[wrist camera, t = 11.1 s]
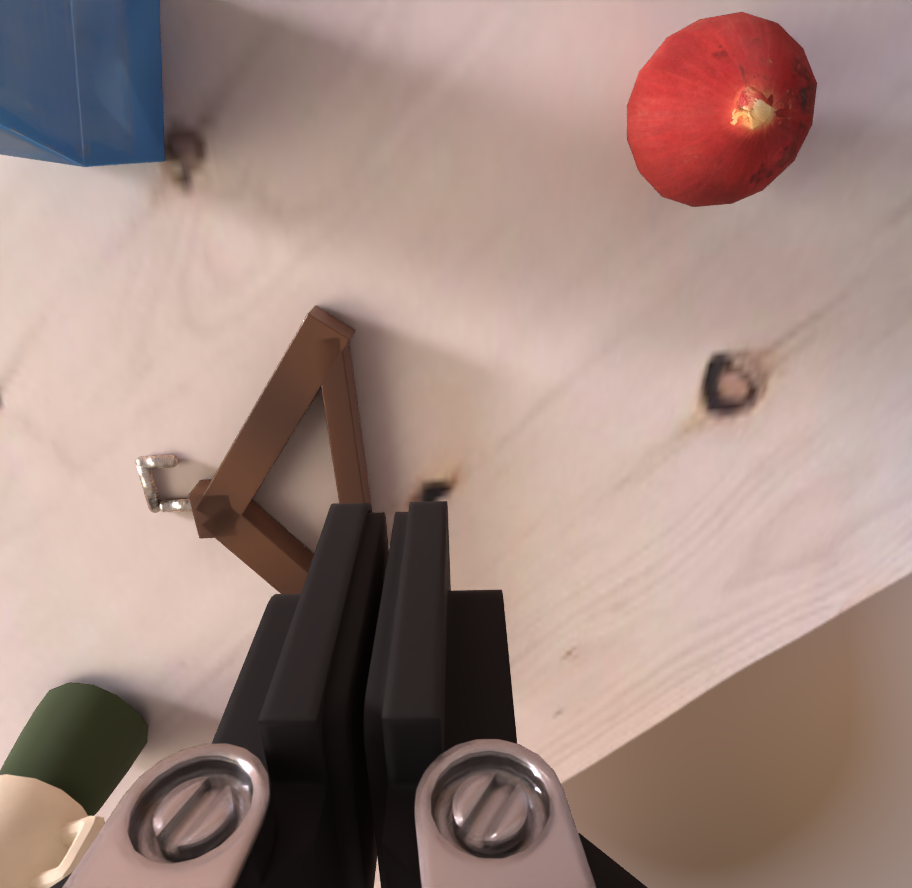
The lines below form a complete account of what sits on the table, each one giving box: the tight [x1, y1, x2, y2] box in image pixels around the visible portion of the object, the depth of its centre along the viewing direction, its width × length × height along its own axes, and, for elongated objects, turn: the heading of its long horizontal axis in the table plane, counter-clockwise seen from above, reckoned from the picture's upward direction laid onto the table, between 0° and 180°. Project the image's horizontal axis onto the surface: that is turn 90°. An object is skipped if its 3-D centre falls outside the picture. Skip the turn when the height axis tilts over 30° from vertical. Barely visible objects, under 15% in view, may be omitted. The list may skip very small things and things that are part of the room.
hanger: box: [136, 306, 372, 594], centre depth 33 cm, size 11×19×2 cm, turn 4°
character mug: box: [0, 683, 148, 888], centre depth 34 cm, size 11×7×13 cm, turn 115°
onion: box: [627, 12, 817, 207], centre depth 22 cm, size 6×6×8 cm
